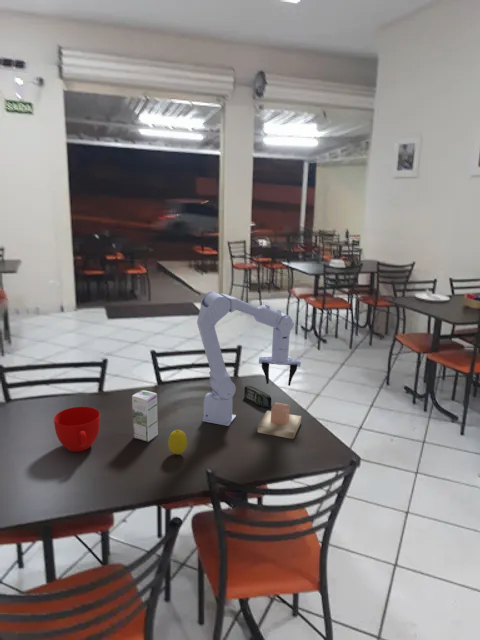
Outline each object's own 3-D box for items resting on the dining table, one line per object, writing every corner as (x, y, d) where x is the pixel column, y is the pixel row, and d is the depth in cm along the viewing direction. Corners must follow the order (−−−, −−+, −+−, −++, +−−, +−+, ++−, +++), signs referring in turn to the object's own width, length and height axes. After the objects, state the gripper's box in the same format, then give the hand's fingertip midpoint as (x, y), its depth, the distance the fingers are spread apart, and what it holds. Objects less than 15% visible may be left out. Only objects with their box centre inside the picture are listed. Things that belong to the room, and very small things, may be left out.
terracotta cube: (270, 422, 157) (271, 408, 156) (274, 415, 162) (275, 402, 160) (285, 425, 156) (286, 411, 154) (289, 418, 160) (290, 405, 159)
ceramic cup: (61, 468, 131) (58, 436, 129) (53, 440, 146) (51, 410, 143) (108, 458, 137) (107, 426, 135) (96, 432, 152) (95, 403, 149)
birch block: (257, 433, 155) (257, 425, 155) (266, 418, 166) (267, 410, 166) (293, 440, 152) (294, 432, 151) (300, 424, 163) (301, 416, 162)
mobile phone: (243, 385, 181) (270, 398, 170) (249, 384, 183) (276, 396, 172) (242, 398, 182) (269, 411, 171) (248, 396, 184) (275, 408, 173)
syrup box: (158, 434, 152) (158, 392, 148) (147, 442, 146) (146, 399, 143) (143, 430, 154) (142, 388, 150) (132, 438, 149) (131, 395, 145)
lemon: (183, 460, 137) (183, 435, 135) (165, 458, 138) (165, 433, 136) (189, 451, 143) (189, 426, 141) (171, 448, 144) (171, 424, 142)
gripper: (258, 349, 162) (256, 386, 166) (301, 352, 160) (298, 389, 164) (260, 343, 169) (258, 378, 172) (301, 345, 167) (299, 382, 171)
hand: (278, 383), depth 169 cm, fingers open, 7 cm apart
